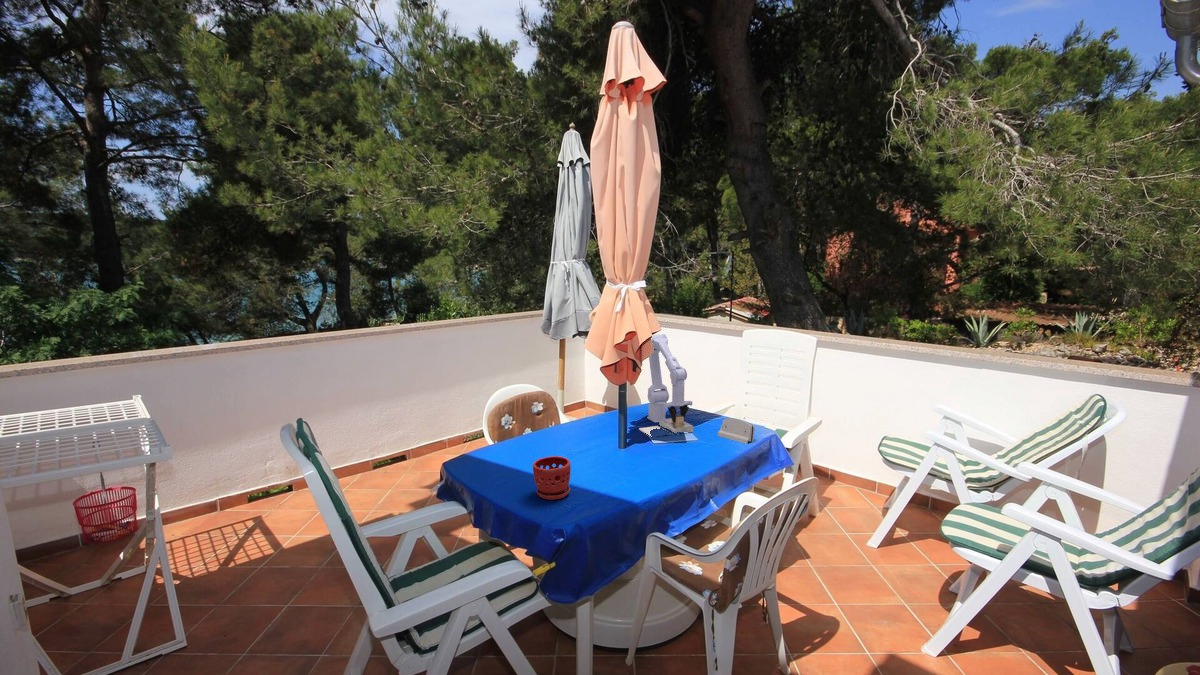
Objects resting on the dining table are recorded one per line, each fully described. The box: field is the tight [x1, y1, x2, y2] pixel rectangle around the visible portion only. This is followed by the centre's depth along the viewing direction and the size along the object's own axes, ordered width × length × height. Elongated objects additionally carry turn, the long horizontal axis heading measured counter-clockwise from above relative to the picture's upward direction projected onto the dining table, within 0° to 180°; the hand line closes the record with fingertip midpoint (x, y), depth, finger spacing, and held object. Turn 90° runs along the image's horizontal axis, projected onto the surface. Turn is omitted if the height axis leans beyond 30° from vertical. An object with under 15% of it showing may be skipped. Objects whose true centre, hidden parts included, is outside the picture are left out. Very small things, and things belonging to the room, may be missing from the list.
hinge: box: [717, 417, 756, 445], centre depth 253 cm, size 17×5×10 cm, turn 41°
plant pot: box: [532, 455, 572, 501], centre depth 193 cm, size 13×13×12 cm
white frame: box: [658, 417, 694, 433], centre depth 268 cm, size 16×10×3 cm, turn 21°
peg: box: [672, 414, 685, 426], centre depth 266 cm, size 4×4×7 cm
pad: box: [638, 425, 661, 438], centre depth 263 cm, size 14×10×1 cm
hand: (678, 421), depth 266 cm, fingers closed on peg, 4 cm apart
